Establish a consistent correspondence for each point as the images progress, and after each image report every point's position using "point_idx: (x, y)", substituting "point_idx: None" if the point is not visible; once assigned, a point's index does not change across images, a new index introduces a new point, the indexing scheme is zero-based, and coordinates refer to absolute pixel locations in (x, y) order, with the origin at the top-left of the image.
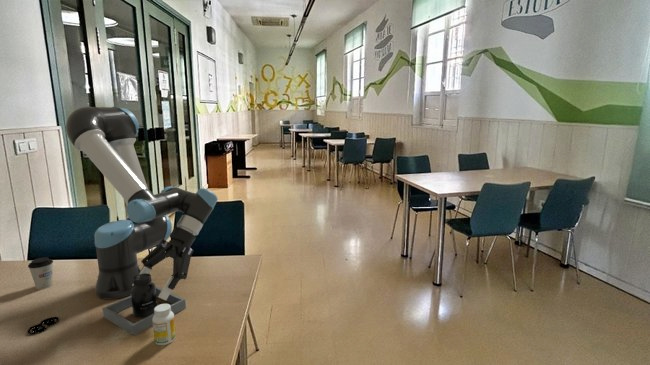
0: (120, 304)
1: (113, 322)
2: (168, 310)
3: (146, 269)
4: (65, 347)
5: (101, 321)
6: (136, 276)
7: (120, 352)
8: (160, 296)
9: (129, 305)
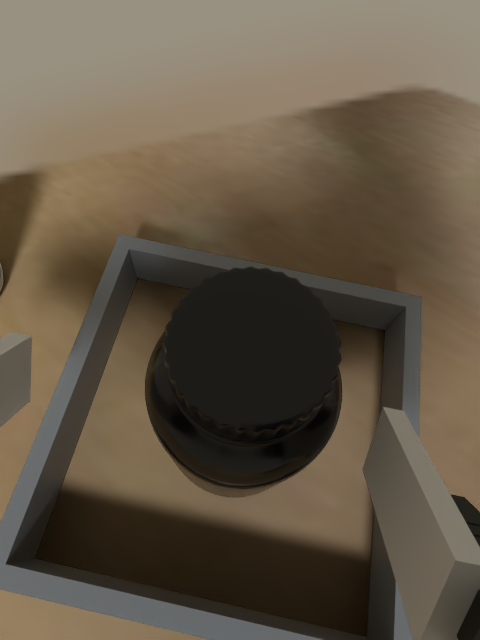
0: (395, 382)
1: None
2: None
3: (432, 566)
4: (320, 153)
5: None
6: (314, 323)
7: (98, 184)
8: (3, 337)
9: None
